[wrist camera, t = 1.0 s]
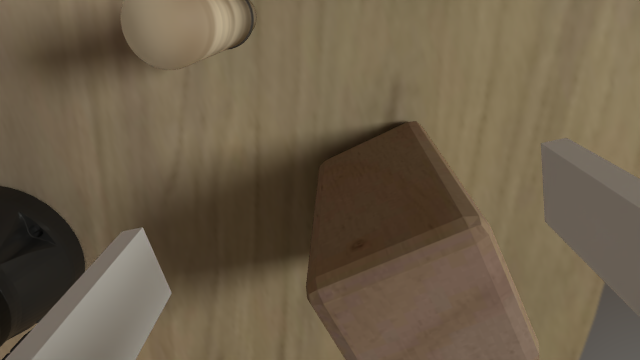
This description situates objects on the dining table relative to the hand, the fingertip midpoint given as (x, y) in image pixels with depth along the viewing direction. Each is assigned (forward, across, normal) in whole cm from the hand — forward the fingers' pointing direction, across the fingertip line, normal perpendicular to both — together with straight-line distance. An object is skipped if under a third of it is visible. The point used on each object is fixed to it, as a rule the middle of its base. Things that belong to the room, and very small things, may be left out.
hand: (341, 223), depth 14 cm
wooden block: (+25, +3, -10) cm, 27 cm away
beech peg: (+25, -7, +8) cm, 27 cm away
